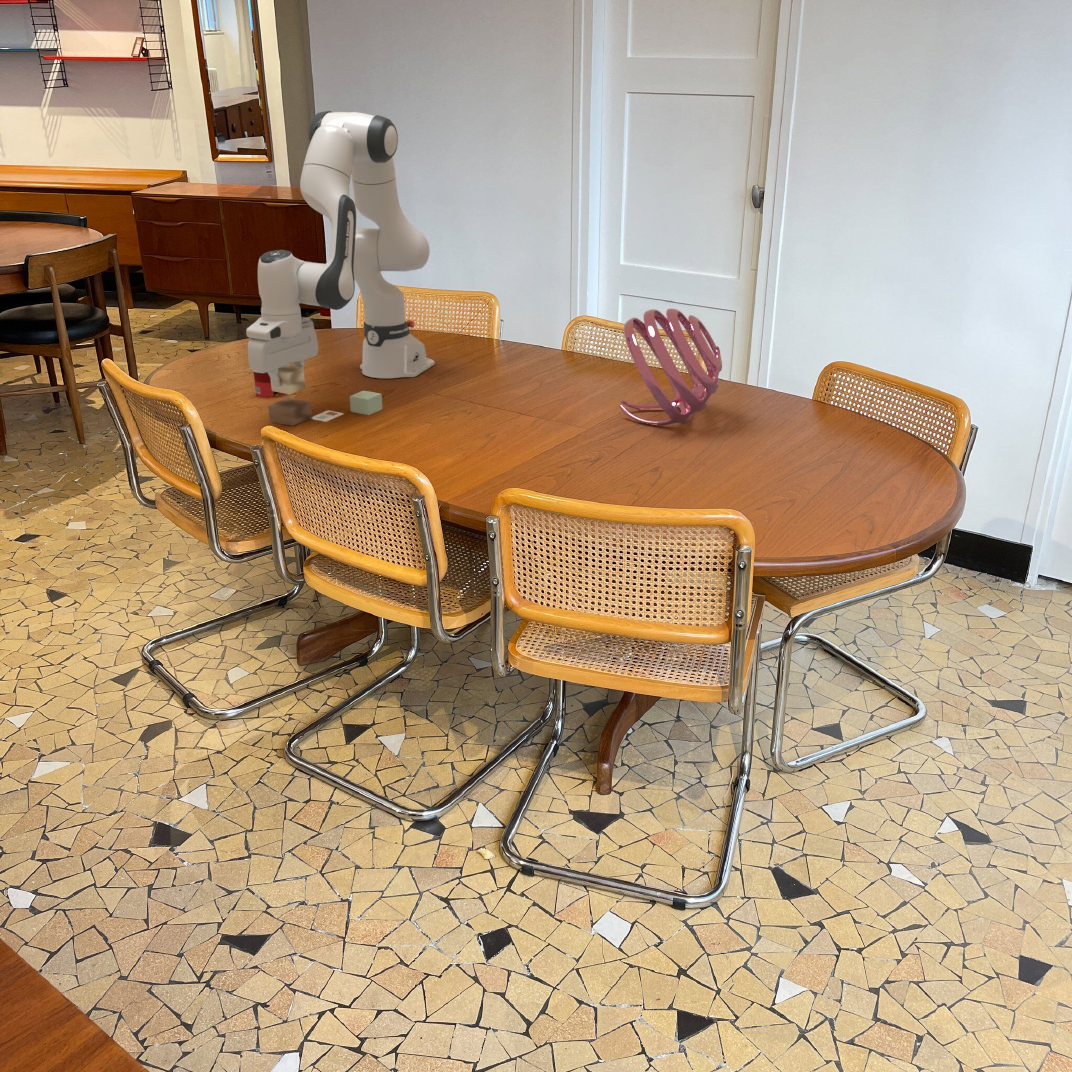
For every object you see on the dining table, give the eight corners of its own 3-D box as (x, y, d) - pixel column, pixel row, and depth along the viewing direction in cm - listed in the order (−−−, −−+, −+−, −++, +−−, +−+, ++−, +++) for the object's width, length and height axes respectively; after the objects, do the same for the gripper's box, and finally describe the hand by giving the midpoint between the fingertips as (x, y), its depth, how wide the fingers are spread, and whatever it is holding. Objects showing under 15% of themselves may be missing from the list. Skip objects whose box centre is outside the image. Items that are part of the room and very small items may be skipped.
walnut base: (290, 413, 245) (288, 398, 243) (312, 417, 242) (310, 401, 240) (270, 421, 239) (268, 405, 238) (292, 425, 236) (290, 409, 235)
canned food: (280, 402, 256) (275, 359, 252) (250, 400, 258) (246, 358, 253) (292, 393, 263) (288, 352, 258) (264, 391, 264) (259, 350, 260)
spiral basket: (571, 344, 234) (672, 282, 224) (603, 345, 260) (695, 290, 250) (627, 450, 234) (731, 393, 224) (653, 441, 260) (748, 389, 250)
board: (293, 405, 254) (293, 401, 253) (350, 416, 246) (349, 412, 245) (242, 425, 239) (242, 420, 239) (301, 438, 231) (300, 433, 231)
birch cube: (287, 385, 241) (285, 364, 239) (305, 388, 238) (303, 367, 236) (271, 390, 236) (269, 370, 234) (289, 394, 234) (287, 373, 232)
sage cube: (365, 409, 252) (363, 390, 249) (382, 413, 249) (381, 393, 247) (351, 415, 247) (349, 396, 245) (368, 419, 245) (367, 399, 243)
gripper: (301, 314, 240) (306, 370, 246) (240, 331, 224) (247, 391, 230) (322, 317, 238) (326, 374, 243) (261, 334, 221) (268, 395, 227)
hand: (287, 382), depth 237 cm, fingers closed on birch cube, 5 cm apart
